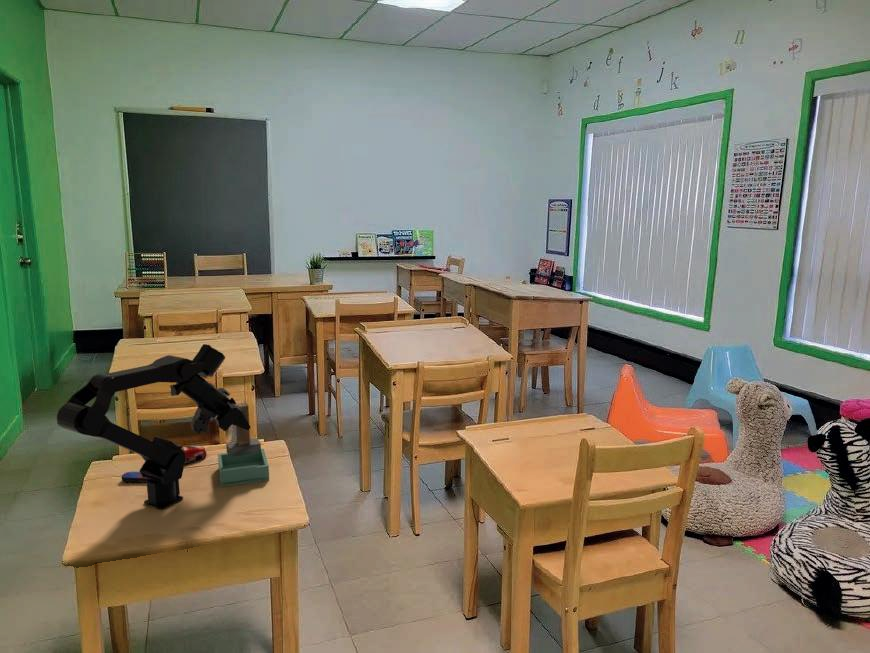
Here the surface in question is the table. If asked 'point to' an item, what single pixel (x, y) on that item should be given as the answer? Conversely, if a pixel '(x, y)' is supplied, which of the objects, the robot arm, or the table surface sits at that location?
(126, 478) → the eraser
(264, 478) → the box
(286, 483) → the table surface
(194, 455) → the race car
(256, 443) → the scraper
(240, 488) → the table surface
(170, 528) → the table surface
